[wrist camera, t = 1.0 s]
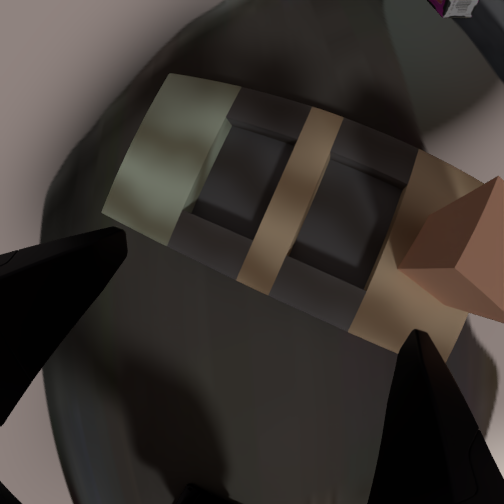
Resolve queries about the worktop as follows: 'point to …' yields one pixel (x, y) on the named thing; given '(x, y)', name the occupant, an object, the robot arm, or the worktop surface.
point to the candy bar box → (454, 8)
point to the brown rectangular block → (463, 253)
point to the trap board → (290, 205)
